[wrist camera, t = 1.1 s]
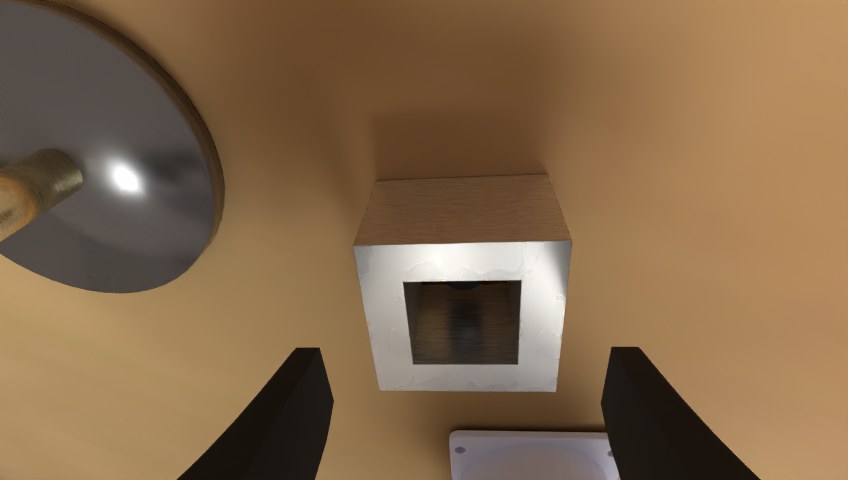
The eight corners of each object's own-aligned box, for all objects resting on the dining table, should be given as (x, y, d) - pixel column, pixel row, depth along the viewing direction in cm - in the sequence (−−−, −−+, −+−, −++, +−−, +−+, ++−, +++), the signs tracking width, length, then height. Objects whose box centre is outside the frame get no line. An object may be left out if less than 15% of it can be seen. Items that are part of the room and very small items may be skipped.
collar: (538, 307, 18) (556, 391, 15) (395, 309, 19) (379, 390, 15) (548, 174, 15) (572, 240, 12) (376, 180, 16) (353, 246, 12)
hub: (257, 275, 18) (202, 362, 14) (22, 279, 19) (-86, 362, 15) (161, -18, 13) (35, -1, 9) (-155, 9, 14) (-386, 34, 10)
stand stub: (483, 264, 17) (484, 290, 16) (445, 265, 17) (443, 290, 16) (483, 231, 16) (484, 255, 15) (443, 232, 17) (441, 256, 15)
